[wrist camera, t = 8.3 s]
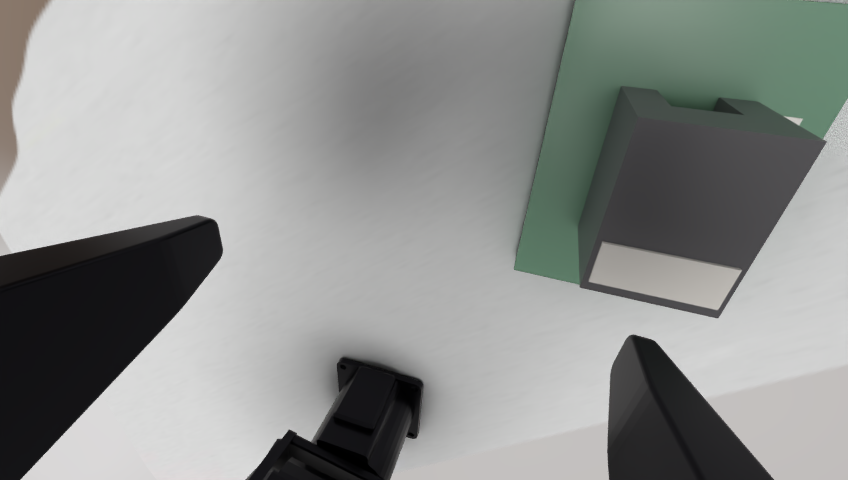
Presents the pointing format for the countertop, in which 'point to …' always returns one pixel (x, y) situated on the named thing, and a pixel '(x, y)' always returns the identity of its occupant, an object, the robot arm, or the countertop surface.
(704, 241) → the plug
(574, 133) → the header board
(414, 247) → the countertop surface
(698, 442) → the robot arm
